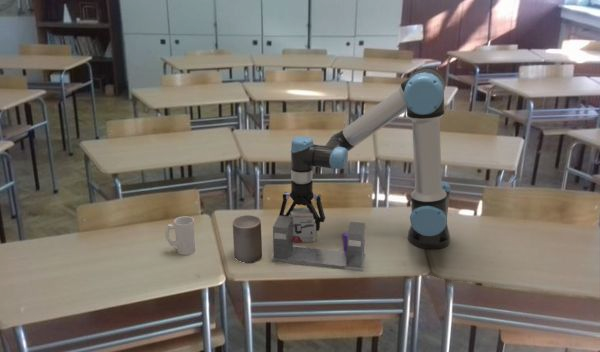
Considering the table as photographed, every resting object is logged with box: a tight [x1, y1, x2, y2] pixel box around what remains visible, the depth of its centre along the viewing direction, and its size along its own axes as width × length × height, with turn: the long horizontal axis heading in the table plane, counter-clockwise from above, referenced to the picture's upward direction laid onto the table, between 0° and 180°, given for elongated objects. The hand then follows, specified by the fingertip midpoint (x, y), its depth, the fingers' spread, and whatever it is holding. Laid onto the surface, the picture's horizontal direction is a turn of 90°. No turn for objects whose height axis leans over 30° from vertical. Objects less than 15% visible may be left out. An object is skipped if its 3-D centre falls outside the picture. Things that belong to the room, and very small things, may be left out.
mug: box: [165, 215, 196, 256], centre depth 201 cm, size 10×7×12 cm, turn 101°
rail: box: [271, 215, 366, 272], centre depth 196 cm, size 31×10×13 cm, turn 79°
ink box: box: [289, 207, 315, 244], centre depth 209 cm, size 9×5×12 cm, turn 95°
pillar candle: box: [231, 215, 263, 264], centre depth 197 cm, size 10×10×15 cm
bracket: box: [341, 232, 365, 252], centre depth 207 cm, size 12×7×7 cm, turn 0°
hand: (301, 236), depth 211 cm, fingers closed on ink box, 9 cm apart
